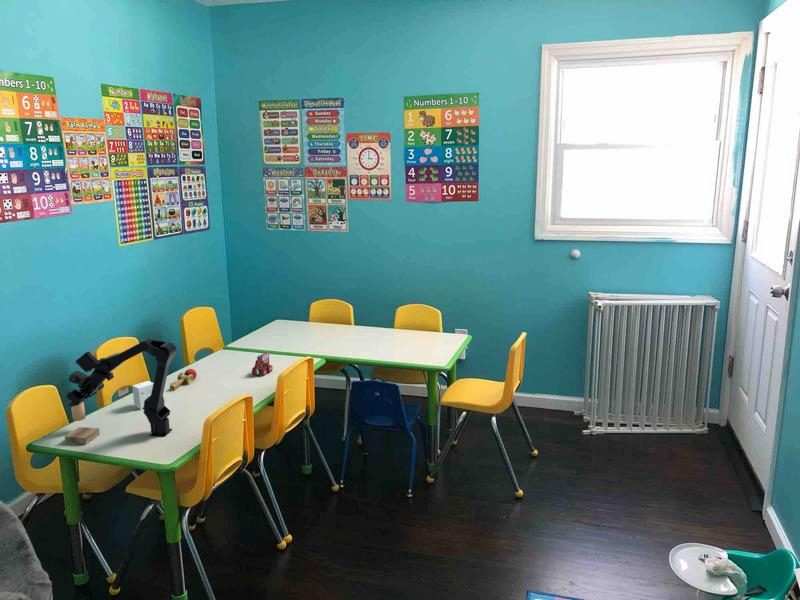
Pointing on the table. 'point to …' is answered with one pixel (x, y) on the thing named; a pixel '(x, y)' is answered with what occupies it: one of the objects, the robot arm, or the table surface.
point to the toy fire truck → (262, 365)
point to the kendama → (184, 378)
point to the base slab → (82, 435)
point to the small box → (141, 393)
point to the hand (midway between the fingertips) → (74, 403)
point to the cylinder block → (78, 412)
